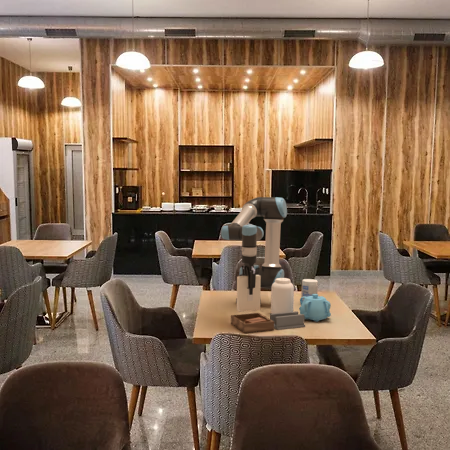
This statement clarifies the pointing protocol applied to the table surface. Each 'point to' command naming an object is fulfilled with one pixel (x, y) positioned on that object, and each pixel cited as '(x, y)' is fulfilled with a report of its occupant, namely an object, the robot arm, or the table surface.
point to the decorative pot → (315, 307)
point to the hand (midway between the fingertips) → (248, 299)
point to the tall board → (243, 293)
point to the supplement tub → (309, 287)
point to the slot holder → (287, 320)
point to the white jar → (282, 296)
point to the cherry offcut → (255, 320)
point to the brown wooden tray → (252, 327)
